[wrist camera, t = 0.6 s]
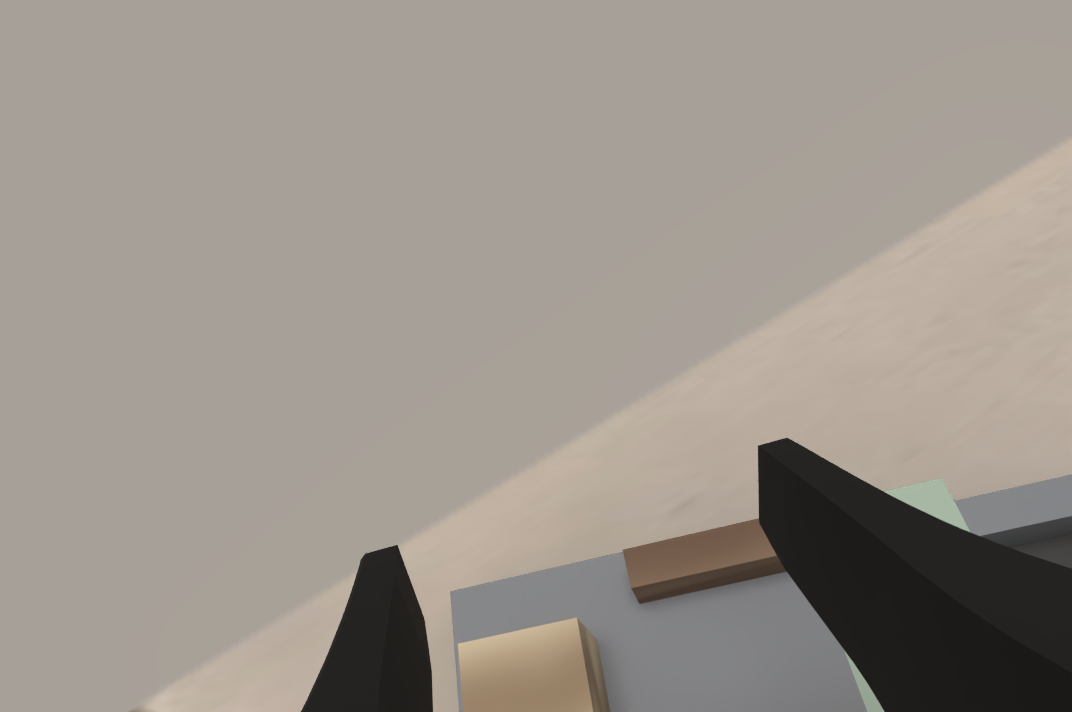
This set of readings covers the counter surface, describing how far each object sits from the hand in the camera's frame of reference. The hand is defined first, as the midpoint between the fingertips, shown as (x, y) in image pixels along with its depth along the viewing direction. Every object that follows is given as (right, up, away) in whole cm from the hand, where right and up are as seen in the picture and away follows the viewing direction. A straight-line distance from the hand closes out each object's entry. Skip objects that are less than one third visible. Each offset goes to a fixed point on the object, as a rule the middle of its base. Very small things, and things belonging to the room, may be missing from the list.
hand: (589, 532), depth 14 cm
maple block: (0, -10, +14) cm, 17 cm away
